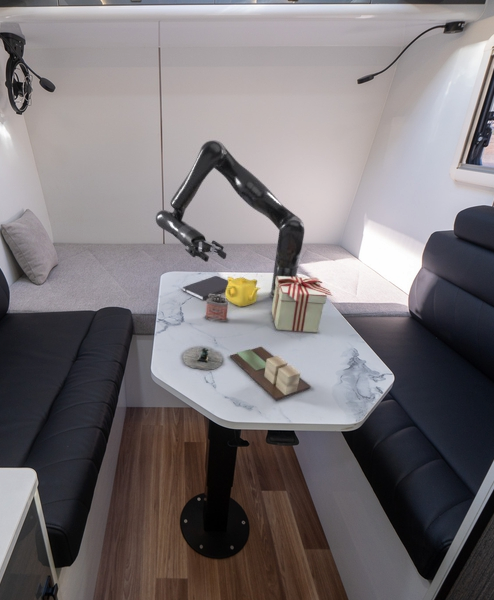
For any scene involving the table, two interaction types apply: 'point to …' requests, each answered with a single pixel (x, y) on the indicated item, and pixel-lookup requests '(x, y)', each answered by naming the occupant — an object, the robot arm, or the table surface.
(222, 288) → the notebook
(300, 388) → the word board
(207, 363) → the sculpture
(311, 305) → the gift box
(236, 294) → the teapot
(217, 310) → the lighter
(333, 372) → the table surface
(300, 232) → the robot arm
